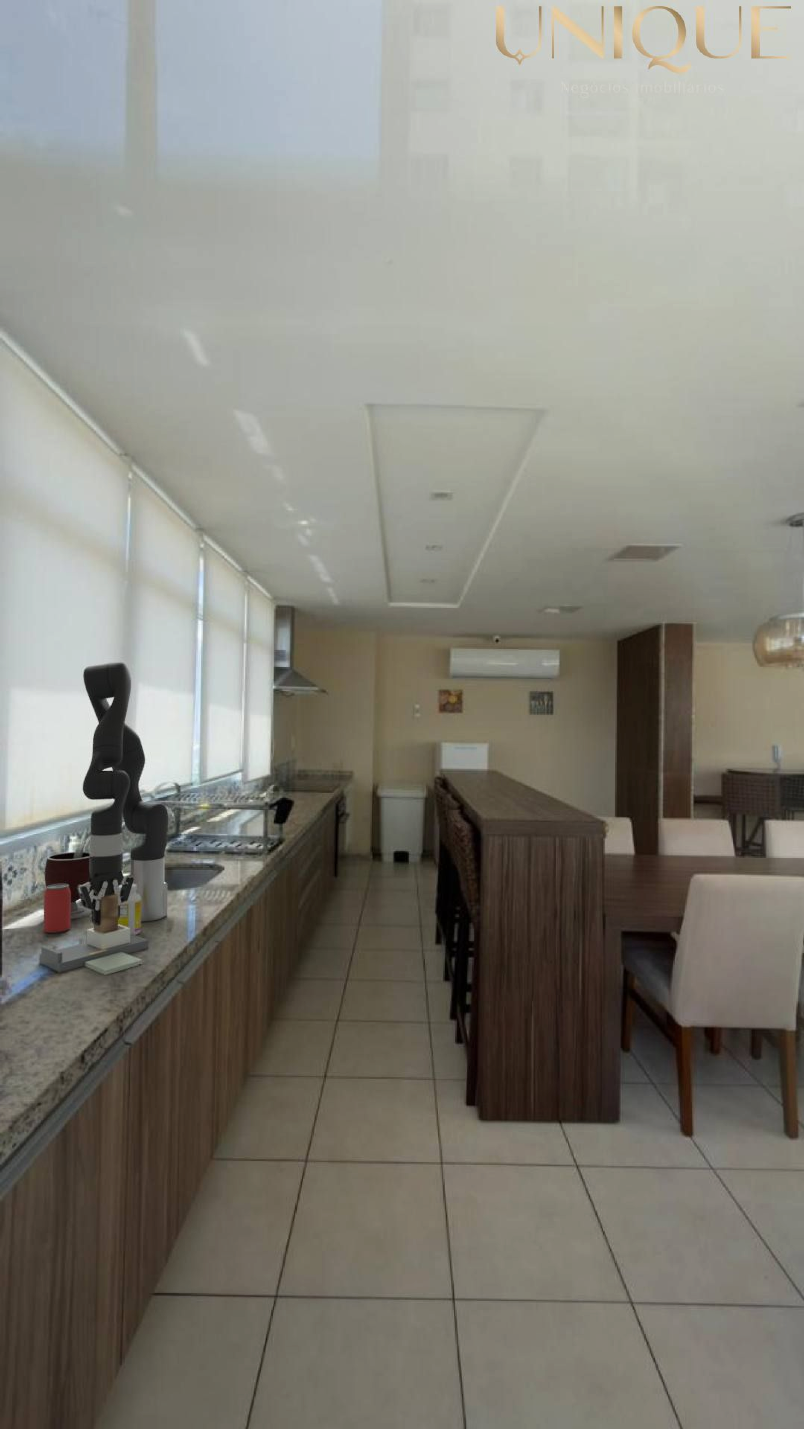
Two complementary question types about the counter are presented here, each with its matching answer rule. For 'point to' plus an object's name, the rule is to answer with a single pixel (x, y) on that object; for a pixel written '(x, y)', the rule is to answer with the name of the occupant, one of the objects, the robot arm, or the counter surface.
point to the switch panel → (85, 953)
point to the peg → (108, 914)
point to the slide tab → (108, 937)
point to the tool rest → (113, 963)
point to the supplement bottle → (131, 911)
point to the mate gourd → (70, 875)
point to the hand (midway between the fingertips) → (105, 922)
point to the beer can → (57, 908)
